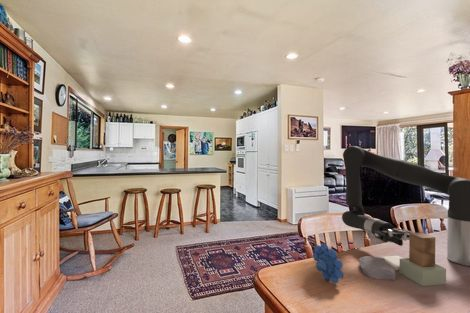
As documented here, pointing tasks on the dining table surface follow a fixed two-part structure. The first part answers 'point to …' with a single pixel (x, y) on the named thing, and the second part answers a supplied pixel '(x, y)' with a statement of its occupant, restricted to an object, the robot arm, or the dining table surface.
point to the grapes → (328, 263)
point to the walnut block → (422, 249)
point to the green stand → (423, 273)
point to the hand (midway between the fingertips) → (412, 242)
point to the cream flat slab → (393, 261)
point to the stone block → (377, 268)
